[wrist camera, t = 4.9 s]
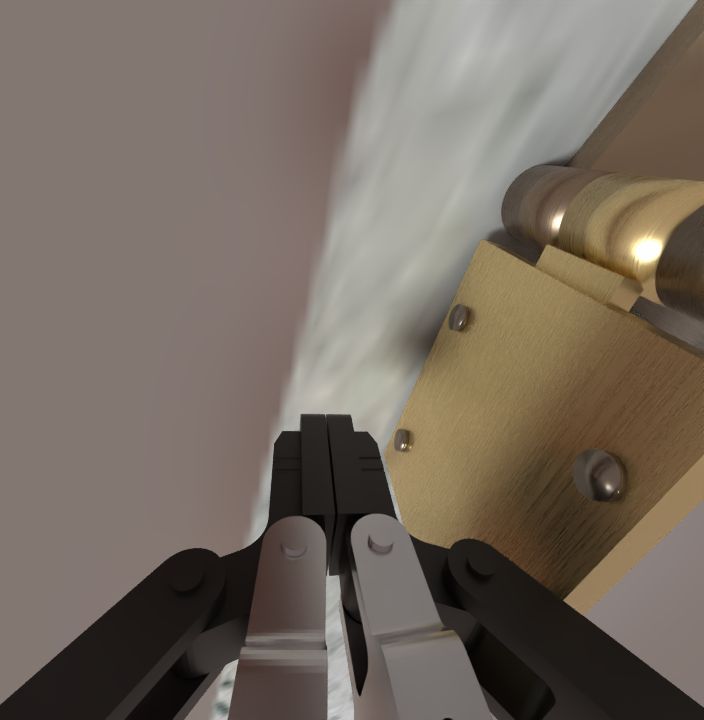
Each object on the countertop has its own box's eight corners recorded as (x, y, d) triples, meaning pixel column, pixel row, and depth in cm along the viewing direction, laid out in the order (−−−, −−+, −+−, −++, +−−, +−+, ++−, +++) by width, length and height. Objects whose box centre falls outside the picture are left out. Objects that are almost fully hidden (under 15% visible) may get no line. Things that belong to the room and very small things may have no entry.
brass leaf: (514, 147, 11) (960, 167, 4) (594, 179, 12) (1101, 250, 5) (379, 453, 17) (446, 713, 9) (439, 462, 18) (547, 709, 10)
